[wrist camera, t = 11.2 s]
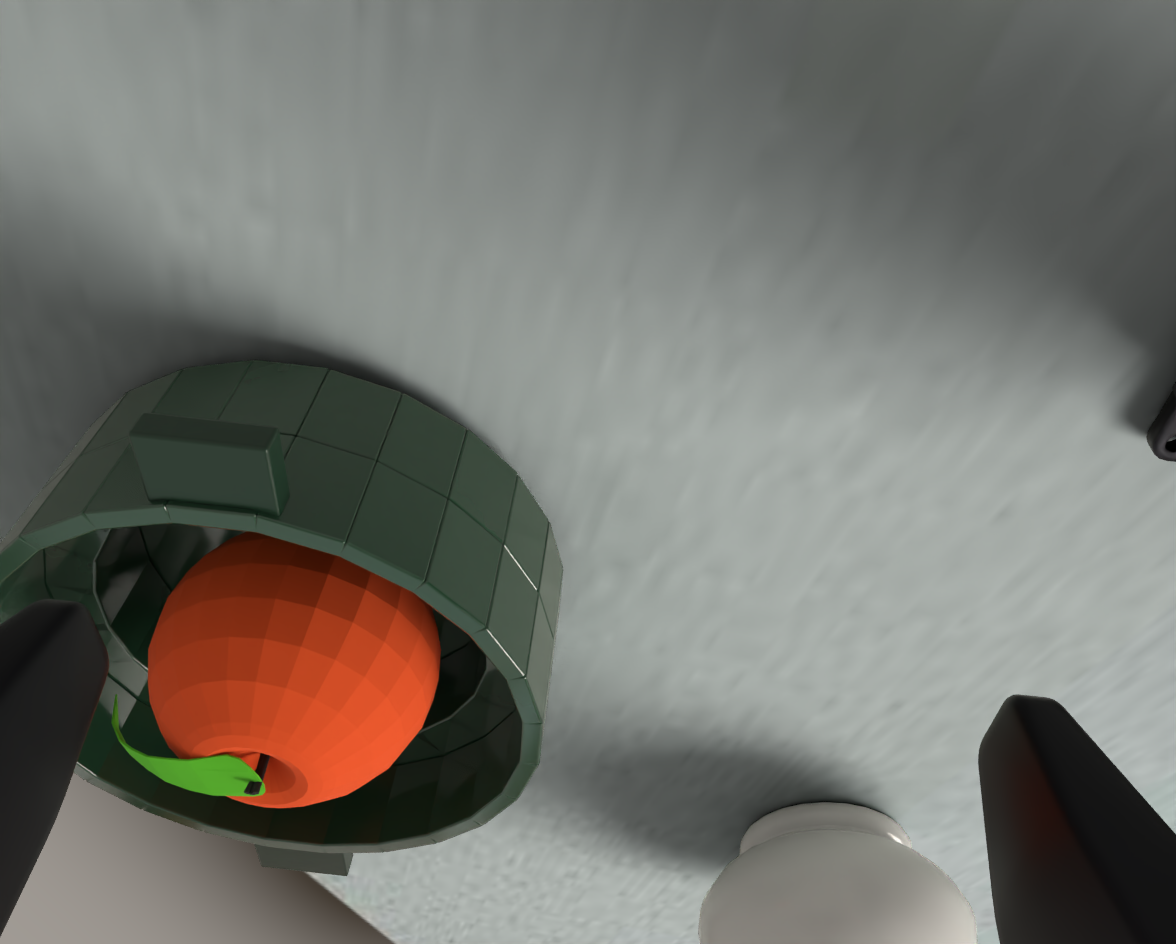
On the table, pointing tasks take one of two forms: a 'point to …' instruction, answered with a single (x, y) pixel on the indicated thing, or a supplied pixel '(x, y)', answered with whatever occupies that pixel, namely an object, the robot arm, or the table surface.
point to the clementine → (286, 674)
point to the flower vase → (833, 884)
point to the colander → (338, 527)
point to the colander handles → (229, 479)
